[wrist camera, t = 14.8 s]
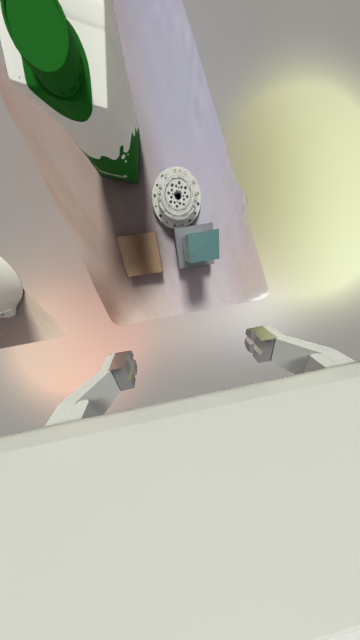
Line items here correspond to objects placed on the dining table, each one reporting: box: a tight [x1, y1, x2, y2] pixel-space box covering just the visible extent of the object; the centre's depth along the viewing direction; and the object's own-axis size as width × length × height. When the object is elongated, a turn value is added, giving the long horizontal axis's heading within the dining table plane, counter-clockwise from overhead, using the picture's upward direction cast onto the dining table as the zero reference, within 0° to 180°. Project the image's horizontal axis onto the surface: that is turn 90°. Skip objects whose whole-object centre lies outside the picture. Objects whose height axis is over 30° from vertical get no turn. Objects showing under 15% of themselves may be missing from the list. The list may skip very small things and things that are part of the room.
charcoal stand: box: [174, 223, 214, 269], centre depth 33 cm, size 8×8×3 cm
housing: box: [182, 229, 219, 263], centre depth 28 cm, size 5×4×9 cm
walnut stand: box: [116, 232, 163, 277], centre depth 33 cm, size 8×8×3 cm
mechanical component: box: [152, 166, 201, 229], centre depth 29 cm, size 10×4×10 cm
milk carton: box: [0, 0, 139, 184], centre depth 18 cm, size 9×9×20 cm
